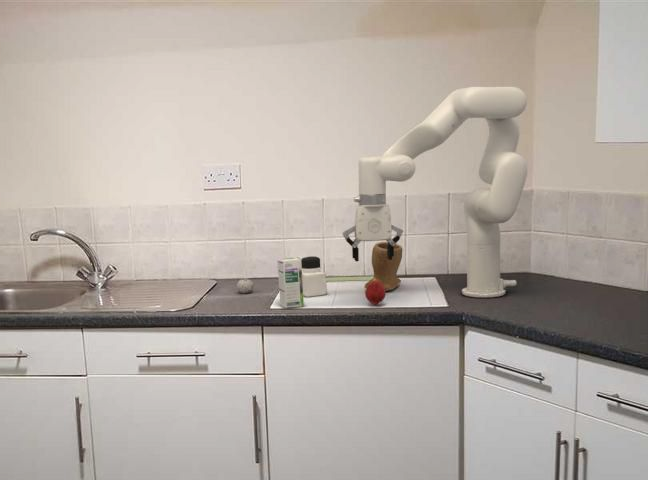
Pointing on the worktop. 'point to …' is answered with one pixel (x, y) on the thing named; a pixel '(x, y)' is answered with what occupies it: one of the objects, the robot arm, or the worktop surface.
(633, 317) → the worktop surface
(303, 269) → the medicine bottle
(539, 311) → the worktop surface
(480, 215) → the robot arm
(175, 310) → the worktop surface
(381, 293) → the pomegranate
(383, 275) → the stone cup
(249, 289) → the garlic
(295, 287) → the syrup box
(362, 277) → the edge strip
